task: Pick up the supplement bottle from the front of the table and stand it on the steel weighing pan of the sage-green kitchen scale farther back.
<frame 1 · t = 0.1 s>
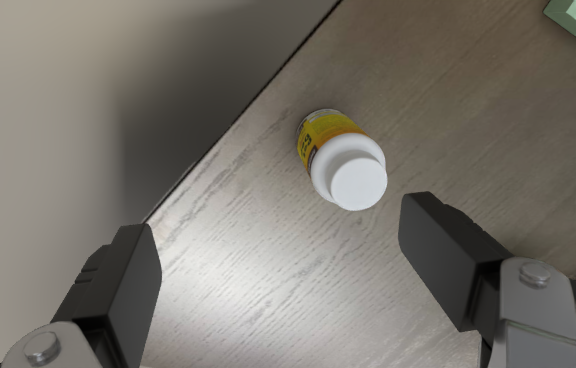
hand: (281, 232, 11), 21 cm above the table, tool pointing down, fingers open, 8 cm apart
supplement bottle: (323, 136, 32), on the table
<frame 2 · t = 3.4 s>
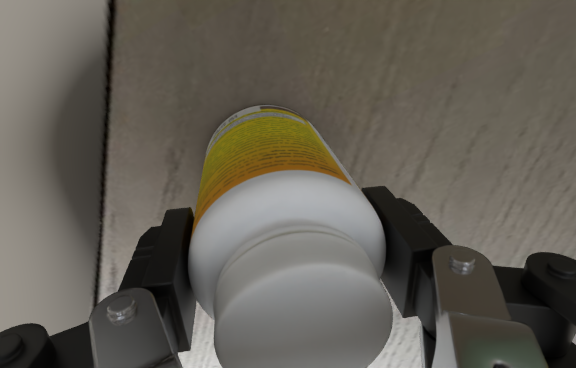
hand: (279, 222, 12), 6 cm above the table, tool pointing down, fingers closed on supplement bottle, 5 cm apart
supplement bottle: (265, 158, 17), on the table, touching gripper
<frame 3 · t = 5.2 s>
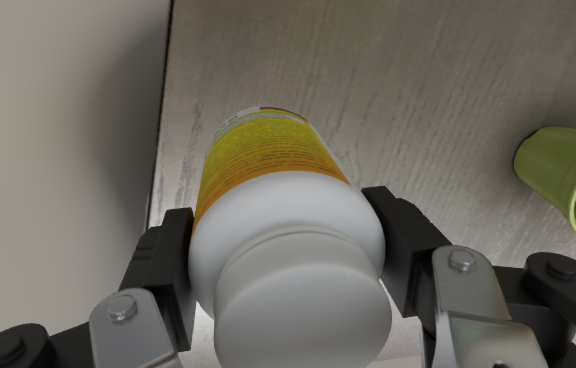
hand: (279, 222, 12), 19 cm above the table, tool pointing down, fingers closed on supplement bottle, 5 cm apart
supplement bottle: (265, 159, 17), point 14 cm above the table, touching gripper
plant pot: (539, 153, 35), on the table
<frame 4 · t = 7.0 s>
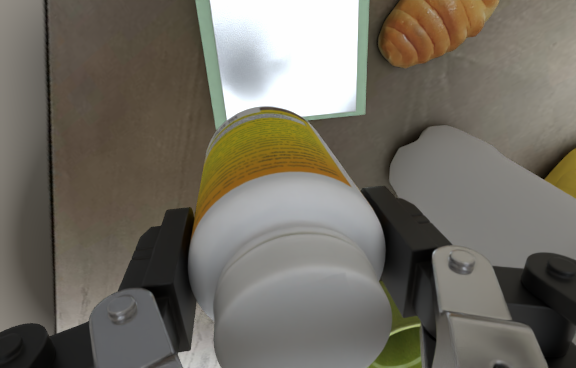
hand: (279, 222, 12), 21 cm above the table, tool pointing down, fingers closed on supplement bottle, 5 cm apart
pastry: (430, 14, 30), on the table
supplement bottle: (265, 159, 17), point 16 cm above the table, touching gripper
teapot: (565, 184, 40), on the table
bottle: (423, 162, 36), on the table
scale: (282, 25, 29), on the table
plant pot: (377, 296, 44), on the table
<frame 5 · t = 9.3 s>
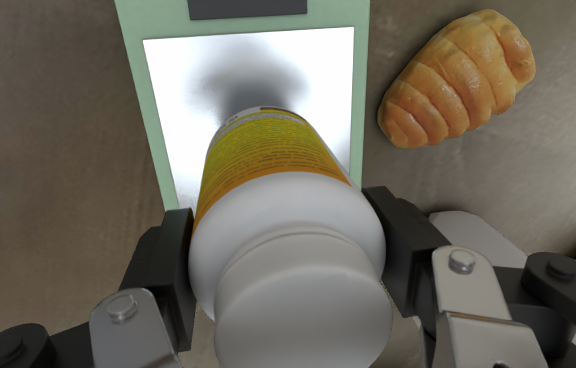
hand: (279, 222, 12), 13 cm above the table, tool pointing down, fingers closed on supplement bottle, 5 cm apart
pastry: (443, 81, 24), on the table
supplement bottle: (265, 159, 17), point 7 cm above the table, touching gripper
bottle: (430, 246, 30), on the table
scale: (255, 97, 22), on the table
when the fingers open (9 cm above the table, at t = 10.9 s): supplement bottle stays where it is, resting on scale.
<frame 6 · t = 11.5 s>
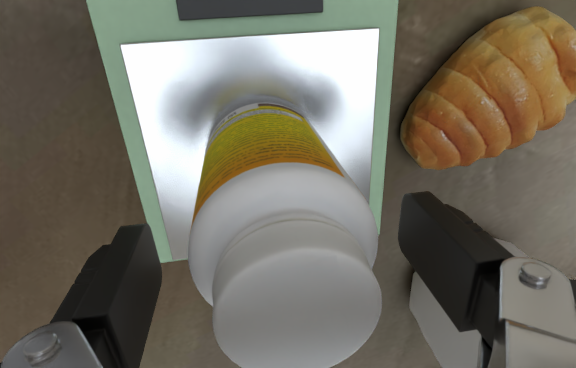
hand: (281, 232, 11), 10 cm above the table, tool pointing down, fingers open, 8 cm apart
pastry: (477, 91, 20), on the table
supplement bottle: (263, 155, 17), point 3 cm above the table, touching scale
bottle: (454, 273, 27), on the table
scale: (258, 111, 19), on the table
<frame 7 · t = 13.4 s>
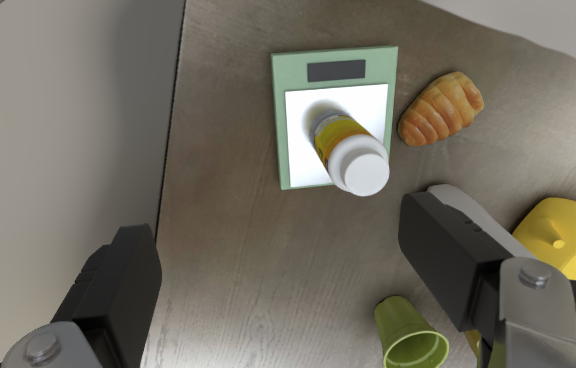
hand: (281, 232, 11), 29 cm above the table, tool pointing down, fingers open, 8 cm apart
pastry: (435, 108, 42), on the table
supplement bottle: (336, 137, 38), point 3 cm above the table, touching scale
teapot: (539, 224, 52), on the table
bottle: (429, 208, 48), on the table
scale: (330, 117, 40), on the table
plant pot: (391, 308, 55), on the table
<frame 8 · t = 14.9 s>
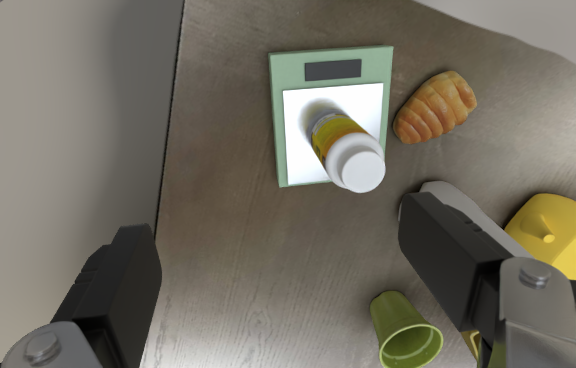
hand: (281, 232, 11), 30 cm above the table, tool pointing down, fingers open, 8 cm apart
pastry: (430, 106, 43), on the table
supplement bottle: (332, 135, 39), point 3 cm above the table, touching scale
teapot: (530, 219, 53), on the table
bottle: (423, 204, 49), on the table
flower pot: (465, 295, 58), on the table
scale: (327, 116, 41), on the table
plant pot: (386, 302, 56), on the table
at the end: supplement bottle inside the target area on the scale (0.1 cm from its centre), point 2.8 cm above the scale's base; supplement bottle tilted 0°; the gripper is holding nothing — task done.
